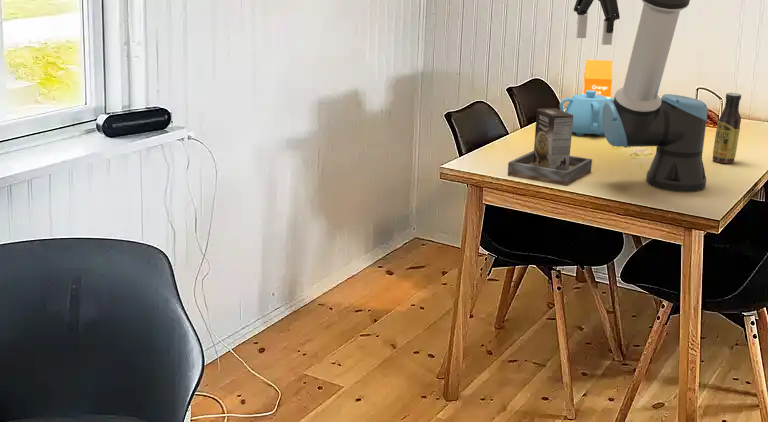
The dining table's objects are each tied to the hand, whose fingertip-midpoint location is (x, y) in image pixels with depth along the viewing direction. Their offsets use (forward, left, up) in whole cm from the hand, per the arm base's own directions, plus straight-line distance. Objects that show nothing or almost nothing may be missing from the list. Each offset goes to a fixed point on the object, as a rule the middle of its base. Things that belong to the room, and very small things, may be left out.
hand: (593, 41), depth 284 cm
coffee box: (-17, +21, -32) cm, 42 cm away
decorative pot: (+23, -15, -33) cm, 43 cm away
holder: (-17, +21, -33) cm, 42 cm away
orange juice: (+40, -28, -33) cm, 59 cm away
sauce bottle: (-20, -34, -33) cm, 51 cm away
